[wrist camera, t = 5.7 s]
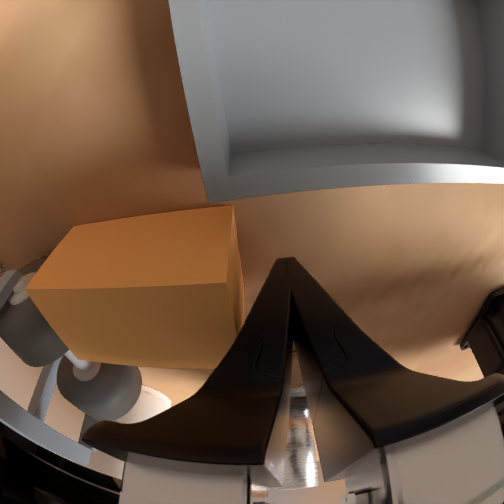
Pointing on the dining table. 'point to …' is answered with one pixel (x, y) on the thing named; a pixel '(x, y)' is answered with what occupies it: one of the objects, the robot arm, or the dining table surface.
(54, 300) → the block
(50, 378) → the grey wheeled cart
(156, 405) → the foam cup
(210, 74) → the tray
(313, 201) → the dining table surface
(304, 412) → the pin
